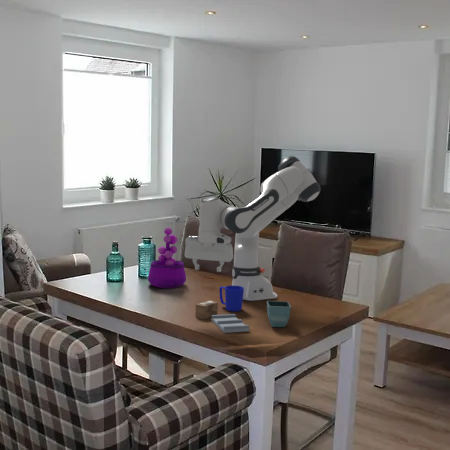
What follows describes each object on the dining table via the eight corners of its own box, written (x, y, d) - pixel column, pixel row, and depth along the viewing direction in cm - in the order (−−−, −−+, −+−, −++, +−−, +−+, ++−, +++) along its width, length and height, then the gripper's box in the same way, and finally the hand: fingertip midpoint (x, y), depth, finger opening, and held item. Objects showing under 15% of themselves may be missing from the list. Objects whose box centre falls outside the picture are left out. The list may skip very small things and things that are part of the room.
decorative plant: (160, 281, 319) (162, 223, 315) (192, 286, 311) (194, 227, 307) (140, 288, 302) (141, 227, 298) (173, 293, 294) (174, 231, 290)
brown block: (209, 313, 263) (209, 299, 262) (217, 315, 260) (217, 301, 260) (195, 317, 256) (195, 303, 255) (203, 319, 253) (204, 305, 253)
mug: (225, 305, 277) (226, 283, 275) (246, 310, 269) (247, 287, 268) (213, 308, 270) (214, 285, 269) (235, 313, 263) (236, 290, 262)
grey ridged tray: (234, 319, 255) (234, 313, 254) (248, 331, 239) (249, 325, 238) (211, 320, 252) (211, 315, 251) (224, 332, 236) (224, 327, 235)
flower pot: (287, 322, 252) (288, 301, 251) (290, 329, 243) (291, 306, 242) (265, 322, 252) (266, 300, 251) (267, 328, 243) (268, 306, 242)
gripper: (182, 236, 254) (181, 269, 256) (230, 240, 248) (229, 274, 250) (188, 234, 260) (187, 266, 262) (234, 238, 254) (233, 271, 256)
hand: (208, 270), depth 256 cm, fingers open, 8 cm apart
